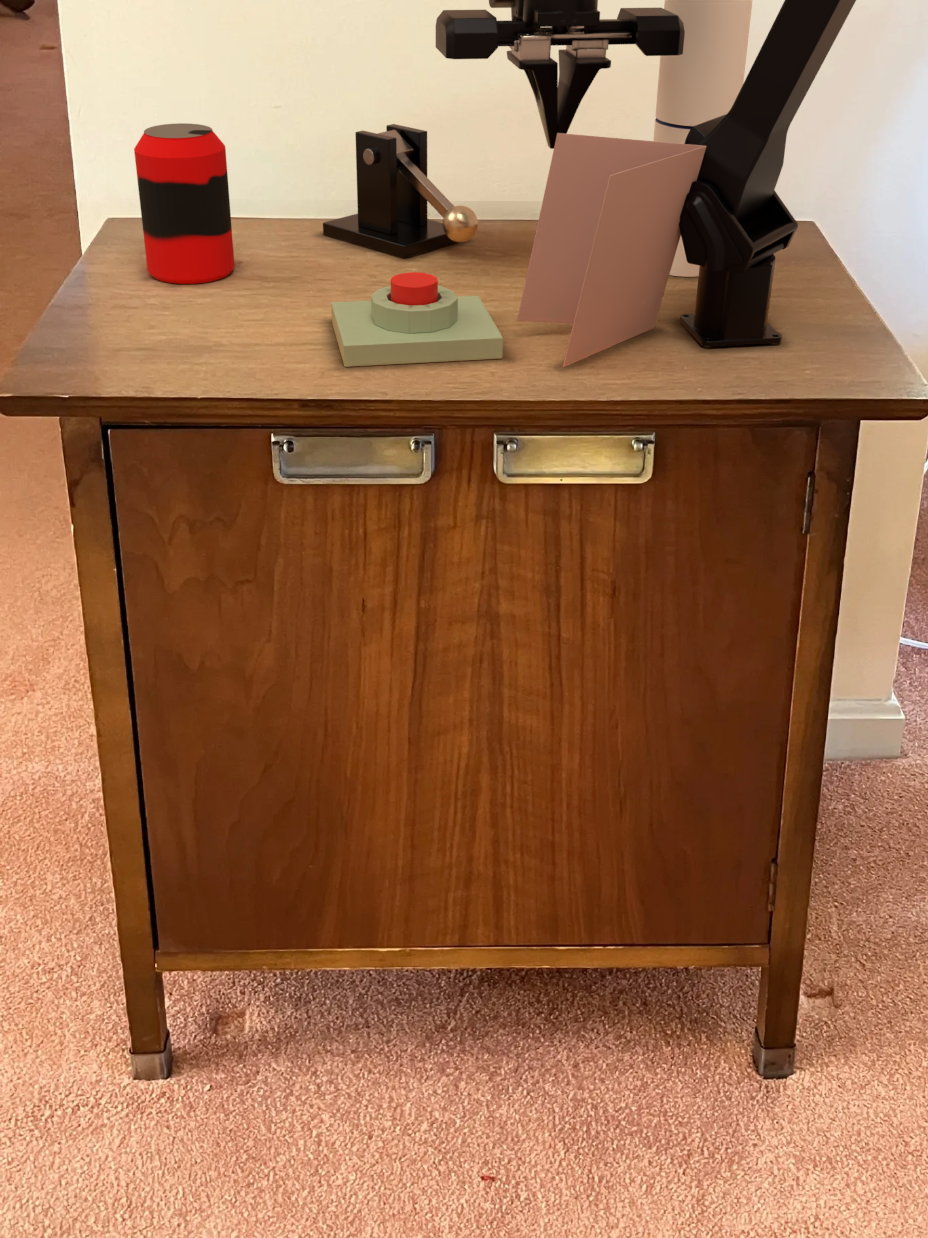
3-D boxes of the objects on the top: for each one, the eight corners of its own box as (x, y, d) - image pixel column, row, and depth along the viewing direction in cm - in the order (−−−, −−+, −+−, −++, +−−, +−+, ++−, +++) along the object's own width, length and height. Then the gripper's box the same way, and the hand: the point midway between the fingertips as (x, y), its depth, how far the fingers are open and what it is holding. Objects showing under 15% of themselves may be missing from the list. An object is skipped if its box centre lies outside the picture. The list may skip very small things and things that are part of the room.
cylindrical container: (631, 269, 123) (655, -38, 110) (660, 248, 128) (685, -46, 115) (707, 281, 120) (740, -32, 107) (733, 260, 125) (767, -41, 112)
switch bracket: (463, 241, 130) (465, 134, 125) (404, 258, 125) (403, 148, 120) (382, 219, 136) (380, 116, 131) (322, 235, 131) (318, 128, 126)
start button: (441, 308, 104) (441, 285, 103) (394, 310, 103) (393, 287, 102) (433, 293, 107) (433, 271, 106) (388, 295, 106) (387, 273, 105)
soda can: (215, 288, 117) (202, 143, 111) (133, 281, 118) (116, 137, 112) (247, 262, 123) (237, 124, 117) (169, 256, 125) (155, 118, 118)
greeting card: (650, 322, 110) (702, 141, 100) (679, 371, 104) (737, 185, 95) (514, 315, 107) (554, 128, 97) (536, 366, 101) (581, 173, 92)
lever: (476, 245, 126) (490, 218, 123) (452, 252, 124) (466, 225, 121) (388, 153, 129) (400, 125, 126) (364, 158, 127) (375, 130, 124)
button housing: (502, 358, 103) (503, 314, 101) (344, 367, 101) (342, 321, 100) (478, 315, 112) (479, 273, 110) (331, 322, 110) (330, 279, 108)
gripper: (652, -77, 111) (637, 123, 119) (424, -77, 108) (425, 129, 116) (695, -64, 101) (676, 153, 110) (447, -63, 99) (446, 159, 107)
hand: (554, 147), depth 111 cm, fingers closed
